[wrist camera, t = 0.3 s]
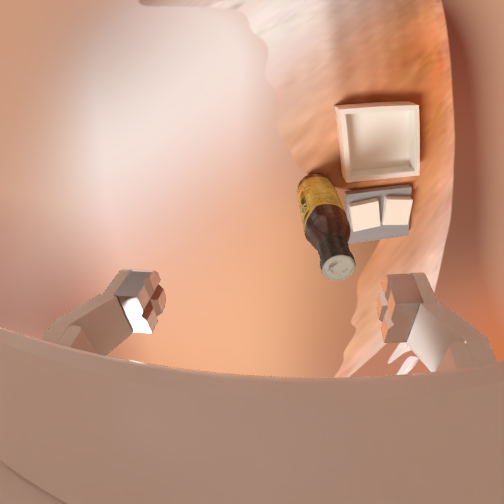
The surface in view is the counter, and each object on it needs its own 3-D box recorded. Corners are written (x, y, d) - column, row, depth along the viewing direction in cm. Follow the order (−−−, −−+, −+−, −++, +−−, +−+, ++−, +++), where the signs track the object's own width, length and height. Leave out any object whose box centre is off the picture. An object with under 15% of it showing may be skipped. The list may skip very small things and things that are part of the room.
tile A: (348, 203, 50) (350, 207, 49) (376, 197, 49) (378, 201, 48) (351, 228, 53) (353, 231, 52) (378, 222, 52) (380, 226, 51)
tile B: (384, 196, 48) (387, 199, 47) (410, 196, 48) (412, 199, 47) (380, 221, 51) (382, 225, 50) (405, 221, 51) (407, 224, 50)
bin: (334, 105, 41) (339, 109, 38) (409, 101, 39) (418, 105, 37) (341, 174, 48) (346, 183, 45) (410, 167, 46) (419, 175, 43)
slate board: (344, 191, 50) (346, 194, 49) (409, 184, 48) (411, 187, 47) (347, 240, 56) (348, 243, 55) (406, 231, 54) (408, 235, 53)
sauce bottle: (291, 177, 49) (303, 250, 33) (328, 167, 47) (359, 235, 31) (302, 211, 53) (317, 292, 37) (337, 201, 51) (367, 279, 35)
